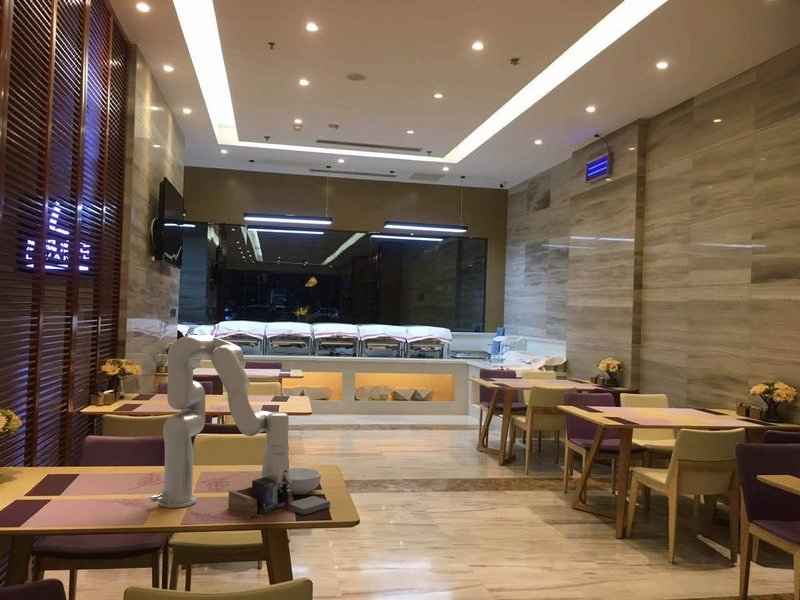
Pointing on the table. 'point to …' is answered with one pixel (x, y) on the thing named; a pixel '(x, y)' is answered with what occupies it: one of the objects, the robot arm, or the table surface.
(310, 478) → the cereal bowl
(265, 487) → the small box
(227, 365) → the robot arm
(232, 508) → the box
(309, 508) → the slate stand
